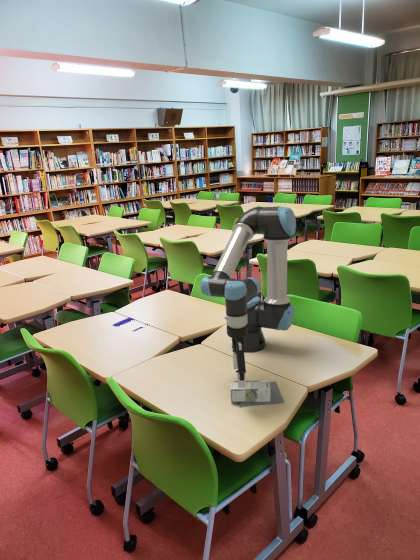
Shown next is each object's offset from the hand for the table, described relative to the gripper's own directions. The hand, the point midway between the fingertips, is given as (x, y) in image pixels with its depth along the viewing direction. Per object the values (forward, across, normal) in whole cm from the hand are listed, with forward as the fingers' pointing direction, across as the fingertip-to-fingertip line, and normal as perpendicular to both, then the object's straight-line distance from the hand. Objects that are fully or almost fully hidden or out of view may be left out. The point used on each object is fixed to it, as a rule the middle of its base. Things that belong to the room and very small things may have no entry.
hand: (239, 377), depth 156 cm
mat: (+8, 0, +7) cm, 10 cm away
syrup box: (+4, +2, -4) cm, 6 cm away
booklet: (+8, -78, -47) cm, 91 cm away
